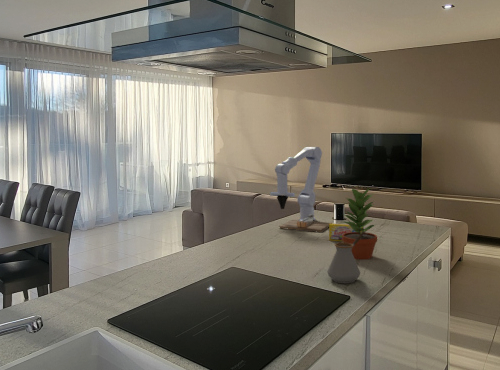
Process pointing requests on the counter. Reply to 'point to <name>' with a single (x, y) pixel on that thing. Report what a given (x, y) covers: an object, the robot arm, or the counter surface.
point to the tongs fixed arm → (307, 221)
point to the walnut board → (312, 227)
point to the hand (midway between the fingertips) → (282, 208)
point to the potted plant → (360, 227)
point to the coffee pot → (344, 263)
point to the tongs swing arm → (301, 221)
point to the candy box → (338, 231)
